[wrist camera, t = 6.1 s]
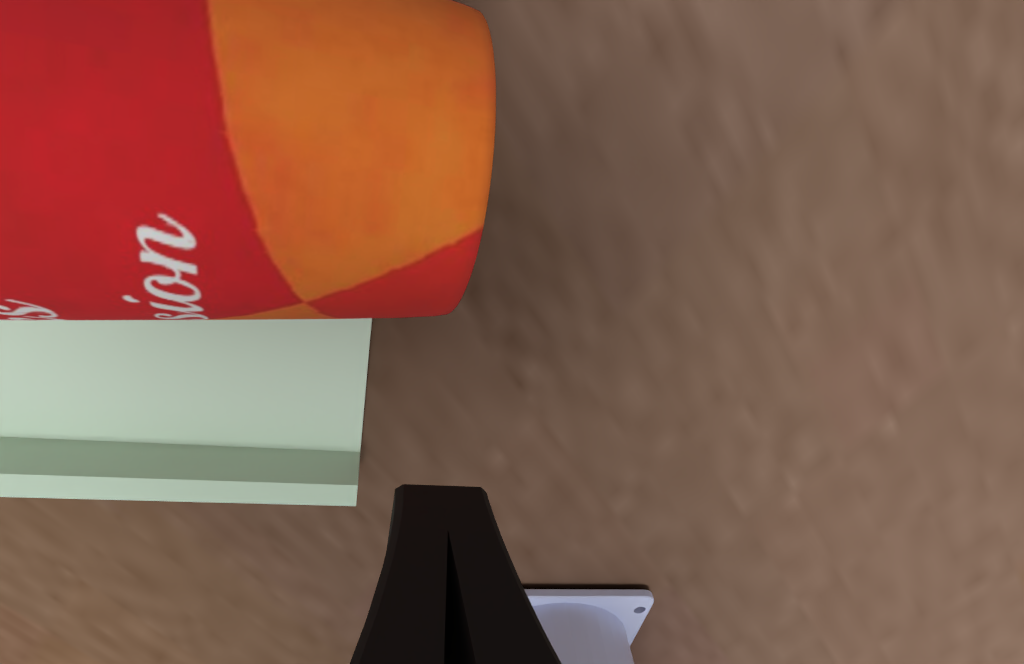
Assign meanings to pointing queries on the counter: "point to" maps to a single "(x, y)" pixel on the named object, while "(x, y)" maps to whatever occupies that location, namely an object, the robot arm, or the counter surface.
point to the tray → (183, 409)
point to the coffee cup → (242, 158)
